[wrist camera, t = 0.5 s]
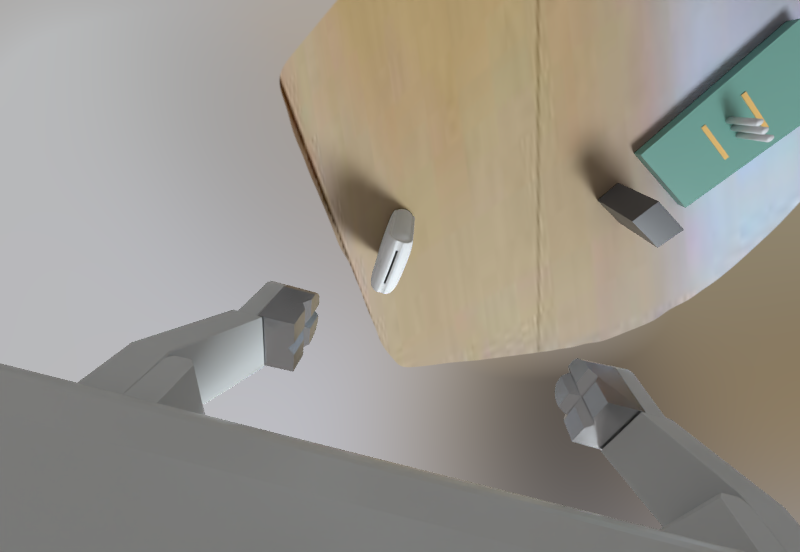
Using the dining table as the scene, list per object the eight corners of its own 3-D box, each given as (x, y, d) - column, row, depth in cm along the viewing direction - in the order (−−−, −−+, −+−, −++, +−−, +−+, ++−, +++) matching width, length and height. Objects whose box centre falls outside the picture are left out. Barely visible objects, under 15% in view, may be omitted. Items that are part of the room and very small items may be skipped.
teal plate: (634, 153, 42) (660, 160, 37) (786, 21, 33) (844, 9, 29) (678, 204, 45) (707, 217, 40) (826, 95, 37) (885, 96, 32)
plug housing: (597, 200, 45) (632, 221, 38) (618, 182, 44) (658, 201, 36) (619, 222, 47) (657, 247, 40) (640, 207, 46) (683, 229, 38)
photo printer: (398, 263, 54) (392, 303, 44) (376, 255, 54) (364, 294, 43) (418, 213, 49) (416, 245, 38) (394, 204, 48) (385, 235, 38)
